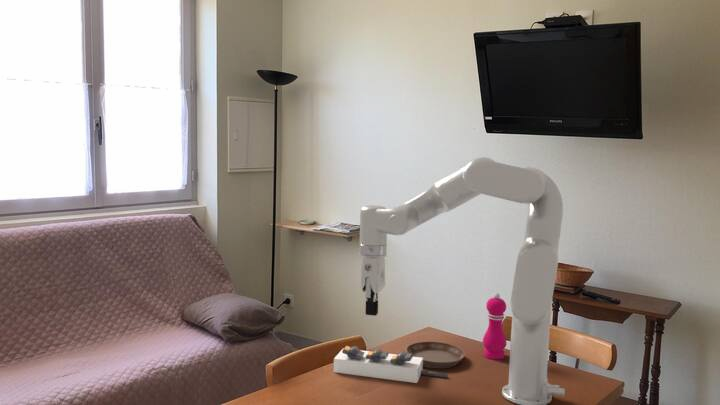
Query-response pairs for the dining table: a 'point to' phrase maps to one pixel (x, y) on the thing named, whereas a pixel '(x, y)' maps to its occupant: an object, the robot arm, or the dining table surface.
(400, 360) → the switch
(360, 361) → the power strip
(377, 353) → the switch middle
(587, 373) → the dining table surface
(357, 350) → the switch
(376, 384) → the dining table surface
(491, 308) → the pepper mill
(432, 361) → the plant saucer
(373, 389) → the dining table surface
